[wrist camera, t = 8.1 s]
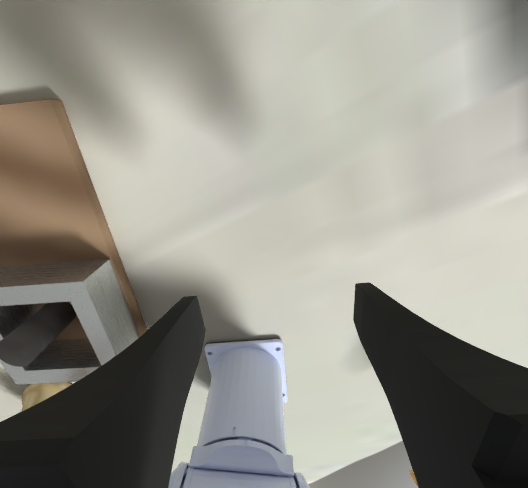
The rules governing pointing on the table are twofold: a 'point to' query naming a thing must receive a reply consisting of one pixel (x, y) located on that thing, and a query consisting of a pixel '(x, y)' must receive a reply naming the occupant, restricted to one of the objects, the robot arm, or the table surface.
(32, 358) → the brown board
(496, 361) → the robot arm
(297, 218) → the table surface
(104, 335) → the grey square frame
